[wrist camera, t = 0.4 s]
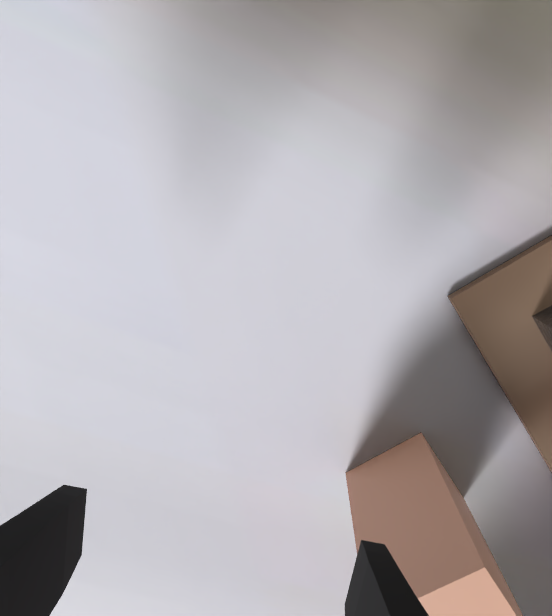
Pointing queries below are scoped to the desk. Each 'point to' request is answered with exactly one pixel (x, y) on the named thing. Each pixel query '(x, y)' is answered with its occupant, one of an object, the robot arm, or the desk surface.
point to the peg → (427, 532)
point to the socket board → (517, 334)
